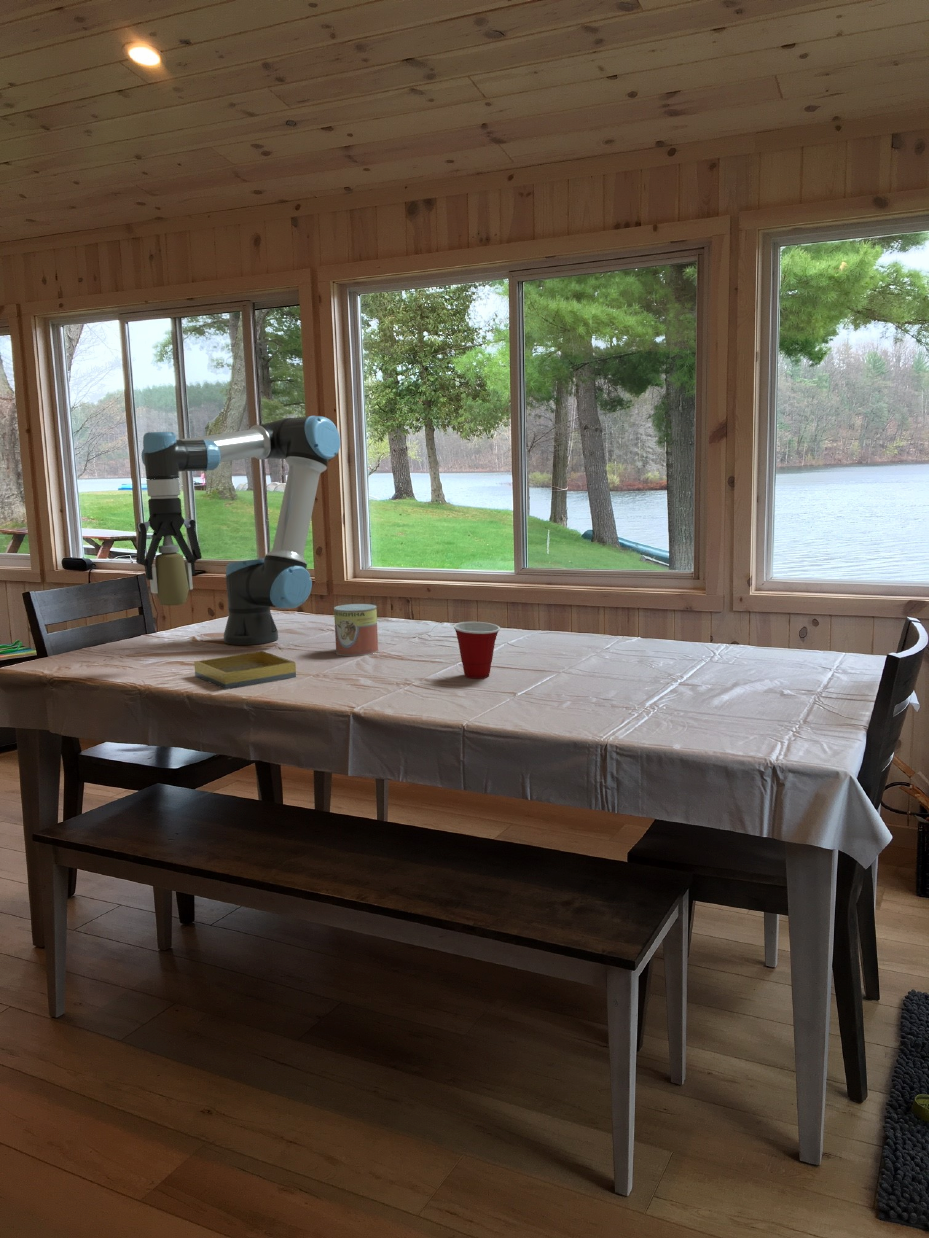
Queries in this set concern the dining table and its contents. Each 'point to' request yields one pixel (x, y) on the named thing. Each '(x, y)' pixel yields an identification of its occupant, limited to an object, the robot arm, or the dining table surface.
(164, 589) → the squeeze bottle
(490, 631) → the plastic cup
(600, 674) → the dining table surface
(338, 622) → the canned food
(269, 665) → the shallow tray
